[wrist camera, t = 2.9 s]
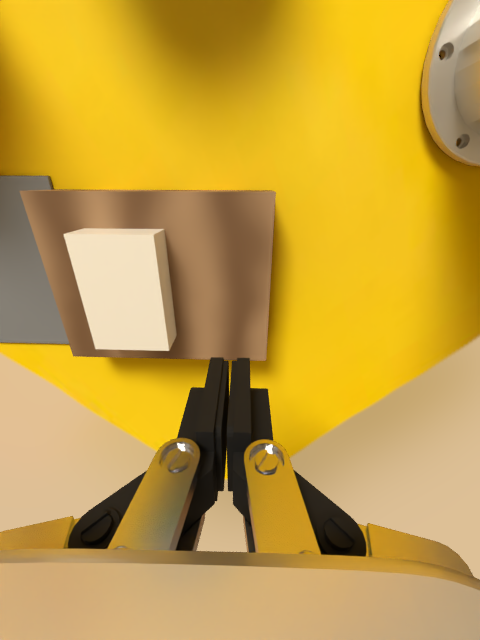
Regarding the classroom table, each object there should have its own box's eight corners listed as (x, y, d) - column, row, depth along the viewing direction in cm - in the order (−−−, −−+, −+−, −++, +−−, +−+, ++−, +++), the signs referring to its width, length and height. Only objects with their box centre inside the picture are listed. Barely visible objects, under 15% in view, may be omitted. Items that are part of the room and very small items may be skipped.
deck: (271, 190, 22) (275, 192, 19) (264, 338, 28) (266, 360, 25) (55, 189, 23) (19, 190, 19) (95, 334, 29) (73, 356, 25)
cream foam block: (164, 228, 20) (153, 234, 18) (176, 335, 24) (169, 350, 22) (84, 228, 20) (63, 233, 18) (109, 333, 24) (95, 349, 22)
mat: (49, 175, 22) (47, 176, 22) (95, 342, 29) (94, 344, 29) (-87, 175, 23) (-91, 175, 22) (-9, 340, 30) (-11, 342, 30)
